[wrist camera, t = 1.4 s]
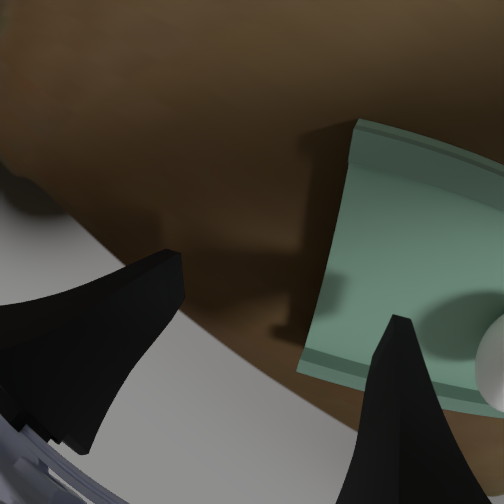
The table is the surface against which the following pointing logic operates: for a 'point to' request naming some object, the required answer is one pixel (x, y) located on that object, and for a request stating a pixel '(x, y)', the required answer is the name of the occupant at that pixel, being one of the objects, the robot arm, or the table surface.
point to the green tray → (412, 262)
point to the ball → (491, 365)
